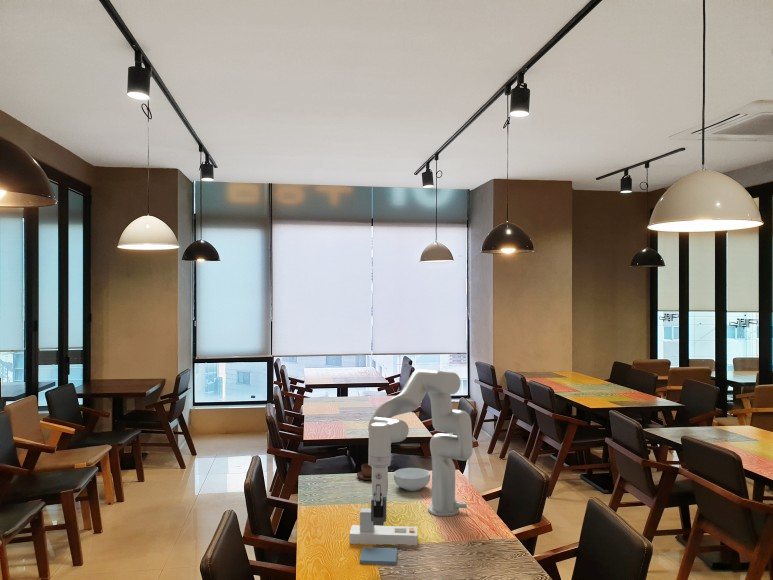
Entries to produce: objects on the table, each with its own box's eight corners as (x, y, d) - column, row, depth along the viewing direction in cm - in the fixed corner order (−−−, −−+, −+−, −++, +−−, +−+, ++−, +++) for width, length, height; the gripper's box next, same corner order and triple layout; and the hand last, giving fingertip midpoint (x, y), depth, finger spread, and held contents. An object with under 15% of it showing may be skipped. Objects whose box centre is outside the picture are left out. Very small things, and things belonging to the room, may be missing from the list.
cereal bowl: (412, 480, 280) (412, 465, 280) (437, 488, 267) (437, 473, 267) (385, 487, 268) (386, 472, 268) (411, 497, 256) (411, 480, 256)
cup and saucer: (359, 473, 289) (359, 461, 289) (383, 475, 287) (383, 462, 287) (354, 481, 277) (354, 468, 277) (379, 482, 275) (379, 469, 276)
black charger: (386, 521, 198) (386, 496, 198) (385, 526, 194) (386, 500, 194) (371, 521, 198) (372, 496, 198) (370, 525, 194) (371, 500, 194)
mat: (396, 551, 201) (396, 548, 201) (396, 564, 191) (396, 561, 191) (362, 550, 201) (362, 547, 202) (359, 563, 192) (359, 560, 192)
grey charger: (374, 531, 212) (374, 508, 212) (373, 536, 208) (374, 512, 208) (360, 531, 213) (361, 508, 213) (359, 535, 209) (360, 512, 209)
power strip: (417, 536, 214) (417, 525, 214) (417, 545, 206) (417, 533, 206) (351, 534, 215) (351, 523, 215) (349, 543, 207) (349, 532, 207)
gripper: (389, 467, 188) (388, 524, 188) (391, 453, 205) (390, 506, 204) (366, 466, 188) (365, 523, 188) (370, 453, 205) (369, 505, 205)
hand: (378, 514), depth 196 cm, fingers closed on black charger, 4 cm apart
